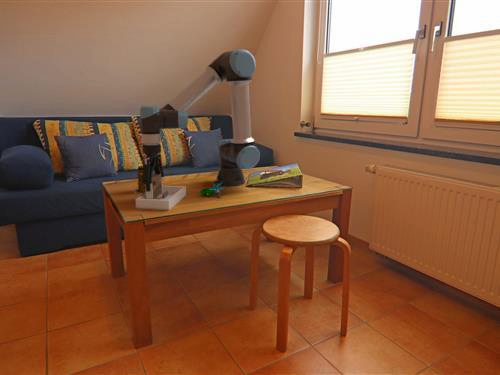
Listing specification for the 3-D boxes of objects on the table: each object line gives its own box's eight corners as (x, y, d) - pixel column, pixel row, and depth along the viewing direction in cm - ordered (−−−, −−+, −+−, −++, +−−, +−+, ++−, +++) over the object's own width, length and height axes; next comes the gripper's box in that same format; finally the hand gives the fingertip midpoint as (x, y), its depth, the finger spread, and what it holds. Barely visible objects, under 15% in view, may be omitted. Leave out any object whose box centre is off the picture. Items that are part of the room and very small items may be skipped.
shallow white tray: (185, 195, 160) (185, 186, 159) (169, 210, 139) (168, 200, 138) (156, 193, 162) (156, 184, 160) (136, 208, 141) (135, 198, 139)
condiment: (152, 192, 163) (150, 168, 160) (133, 193, 161) (131, 168, 158) (152, 188, 170) (151, 164, 167) (134, 189, 168) (133, 165, 165)
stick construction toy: (226, 188, 164) (222, 178, 158) (229, 199, 160) (226, 190, 153) (201, 196, 163) (197, 186, 157) (204, 207, 159) (200, 198, 153)
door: (164, 193, 155) (163, 174, 152) (155, 200, 145) (154, 179, 143) (155, 193, 155) (154, 173, 153) (146, 199, 146) (145, 179, 143)
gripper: (153, 140, 155) (156, 187, 161) (130, 147, 134) (134, 202, 140) (169, 140, 154) (171, 188, 160) (149, 148, 133) (152, 203, 139)
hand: (154, 194), depth 150 cm, fingers closed on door, 10 cm apart
